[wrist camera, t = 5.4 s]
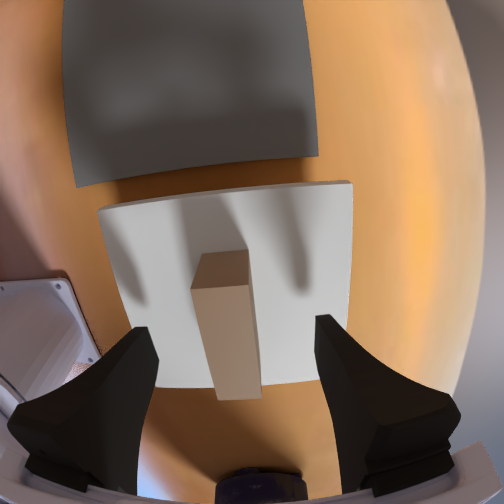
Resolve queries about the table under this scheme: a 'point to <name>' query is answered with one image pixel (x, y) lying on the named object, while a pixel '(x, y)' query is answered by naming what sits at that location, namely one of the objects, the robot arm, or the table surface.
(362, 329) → the table surface
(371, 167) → the table surface
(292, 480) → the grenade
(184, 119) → the mat
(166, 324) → the lid
